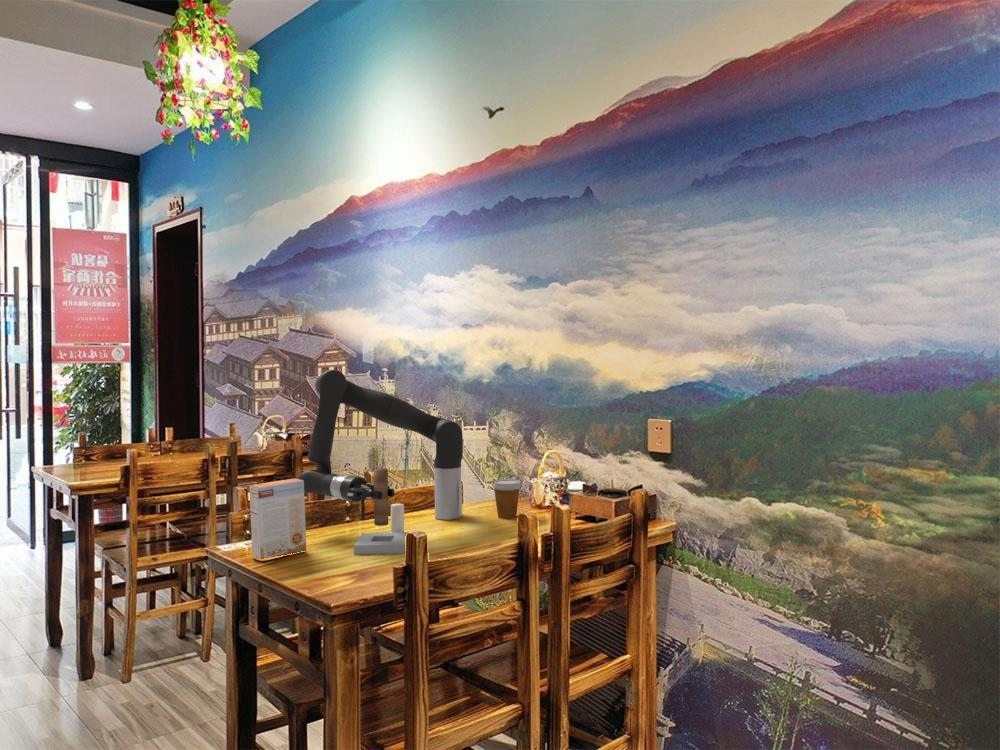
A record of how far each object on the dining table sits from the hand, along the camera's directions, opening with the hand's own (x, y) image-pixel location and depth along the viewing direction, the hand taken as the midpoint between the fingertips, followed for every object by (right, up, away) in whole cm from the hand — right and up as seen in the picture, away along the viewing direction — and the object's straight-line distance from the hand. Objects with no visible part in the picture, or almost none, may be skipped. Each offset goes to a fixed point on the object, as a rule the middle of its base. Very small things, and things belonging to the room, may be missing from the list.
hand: (387, 494), depth 212 cm
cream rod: (+1, -15, +13) cm, 20 cm away
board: (-2, -16, +2) cm, 16 cm away
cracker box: (-30, -17, -5) cm, 34 cm away
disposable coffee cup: (+35, -14, +39) cm, 54 cm away
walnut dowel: (-2, -9, +2) cm, 9 cm away
